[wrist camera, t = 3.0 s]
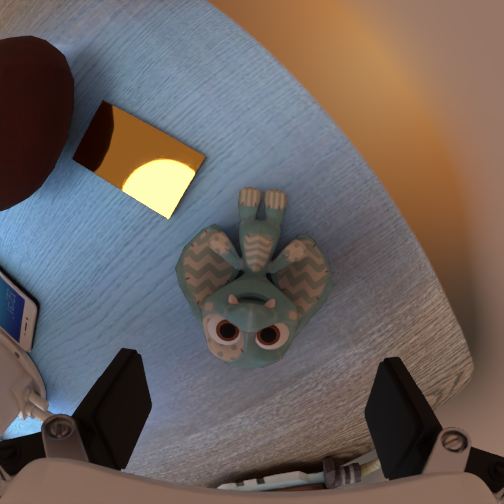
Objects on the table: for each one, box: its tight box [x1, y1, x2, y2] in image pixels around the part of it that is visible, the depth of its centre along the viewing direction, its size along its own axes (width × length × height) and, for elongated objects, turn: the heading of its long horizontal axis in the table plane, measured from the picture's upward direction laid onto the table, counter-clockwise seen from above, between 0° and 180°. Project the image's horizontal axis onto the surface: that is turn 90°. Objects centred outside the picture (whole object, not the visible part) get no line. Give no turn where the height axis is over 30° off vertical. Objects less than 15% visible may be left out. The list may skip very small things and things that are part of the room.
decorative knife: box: [217, 457, 381, 492], centre depth 26 cm, size 4×9×30 cm
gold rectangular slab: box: [72, 101, 207, 219], centre depth 19 cm, size 9×1×5 cm
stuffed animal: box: [175, 187, 333, 369], centre depth 19 cm, size 11×7×12 cm
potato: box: [0, 36, 74, 211], centre depth 14 cm, size 11×13×10 cm
